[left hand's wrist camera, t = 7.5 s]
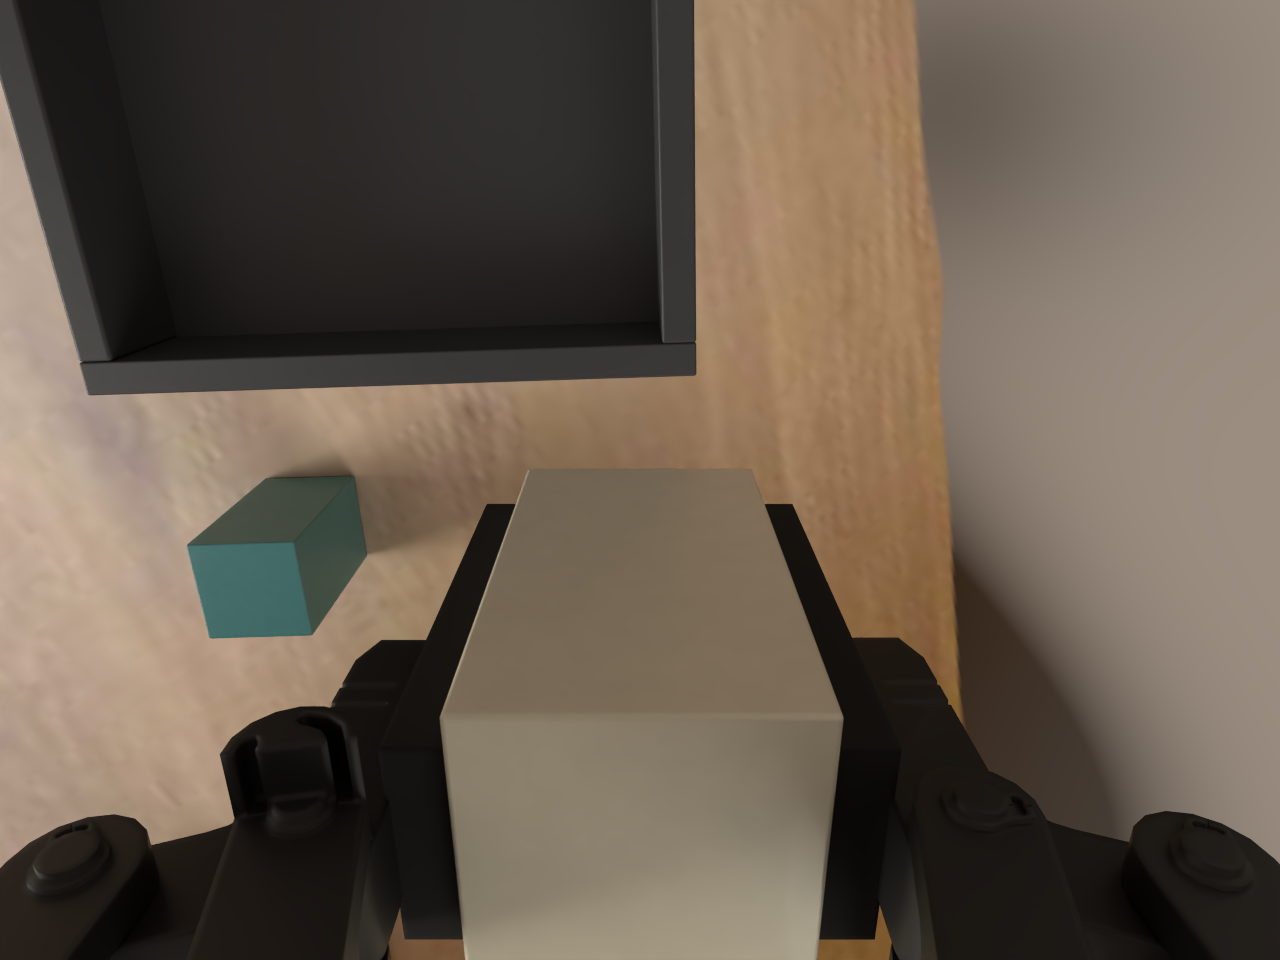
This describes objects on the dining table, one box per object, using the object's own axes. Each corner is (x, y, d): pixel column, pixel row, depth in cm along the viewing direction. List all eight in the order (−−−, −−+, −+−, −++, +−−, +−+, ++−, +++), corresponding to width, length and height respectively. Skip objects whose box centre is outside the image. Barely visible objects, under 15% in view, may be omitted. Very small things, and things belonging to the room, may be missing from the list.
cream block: (742, 659, 16) (813, 1002, 9) (537, 659, 16) (467, 1002, 9) (752, 467, 15) (846, 717, 8) (527, 467, 15) (436, 716, 8)
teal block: (367, 555, 38) (312, 635, 31) (281, 558, 38) (208, 639, 32) (354, 475, 37) (293, 541, 30) (265, 478, 37) (185, 545, 30)
